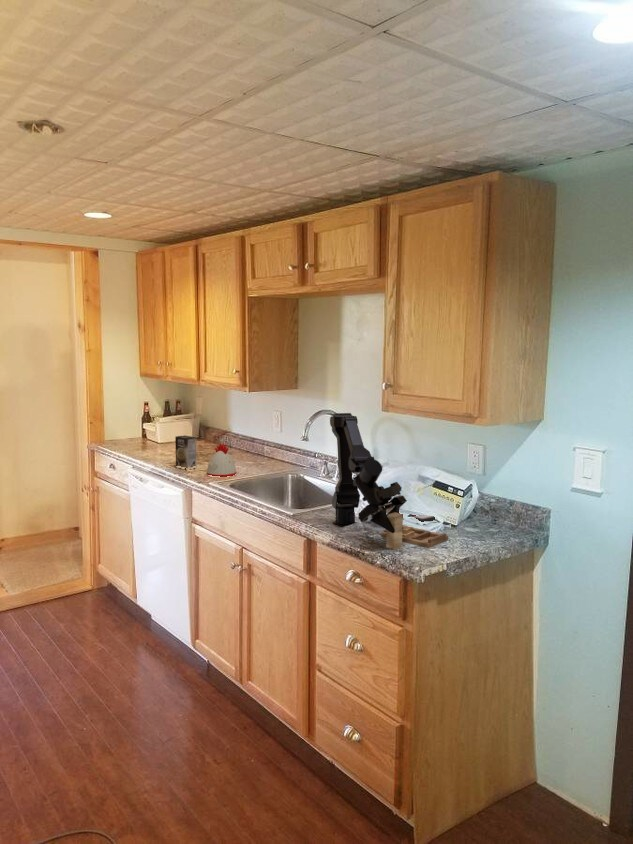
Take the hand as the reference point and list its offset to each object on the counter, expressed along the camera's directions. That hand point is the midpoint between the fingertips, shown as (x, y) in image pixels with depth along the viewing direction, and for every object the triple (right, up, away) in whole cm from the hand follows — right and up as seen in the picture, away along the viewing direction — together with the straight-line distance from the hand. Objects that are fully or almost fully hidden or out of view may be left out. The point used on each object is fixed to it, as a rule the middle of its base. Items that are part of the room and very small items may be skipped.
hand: (398, 530), depth 199 cm
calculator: (+12, -3, +35) cm, 37 cm away
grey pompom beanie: (-70, +8, +113) cm, 133 cm away
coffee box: (-91, +10, +128) cm, 157 cm away
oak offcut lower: (+3, -4, +14) cm, 15 cm away
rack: (+7, -5, +12) cm, 14 cm away
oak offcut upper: (+3, -3, +14) cm, 15 cm away
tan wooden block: (-1, -5, +2) cm, 6 cm away
